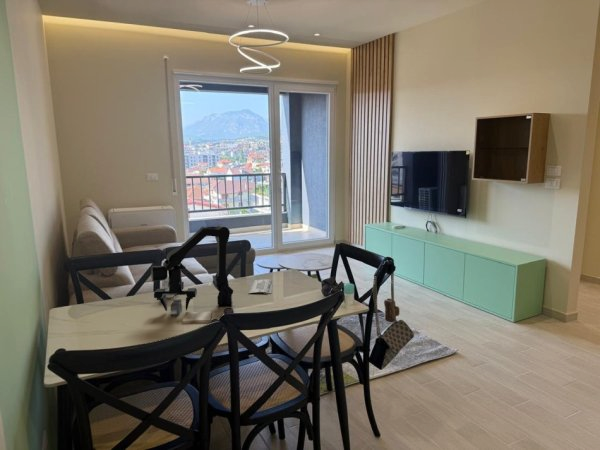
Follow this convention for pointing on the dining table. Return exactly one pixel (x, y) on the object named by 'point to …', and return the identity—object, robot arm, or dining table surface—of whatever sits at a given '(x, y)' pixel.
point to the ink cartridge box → (166, 286)
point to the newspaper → (261, 286)
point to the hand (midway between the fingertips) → (176, 310)
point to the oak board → (197, 317)
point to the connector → (176, 307)
